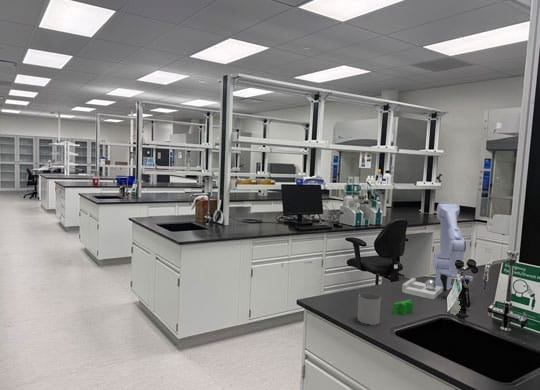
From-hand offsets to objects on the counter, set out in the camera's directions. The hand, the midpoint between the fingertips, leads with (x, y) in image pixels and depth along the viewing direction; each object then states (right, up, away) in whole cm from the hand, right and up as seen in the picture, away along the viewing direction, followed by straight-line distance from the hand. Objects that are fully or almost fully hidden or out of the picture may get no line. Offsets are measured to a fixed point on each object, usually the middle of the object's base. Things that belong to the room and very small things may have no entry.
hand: (453, 292), depth 179 cm
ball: (-8, +2, +6) cm, 11 cm away
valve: (-6, -5, -16) cm, 18 cm away
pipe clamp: (-30, -4, -19) cm, 36 cm away
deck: (-11, -2, +10) cm, 15 cm away
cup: (-48, -4, -30) cm, 57 cm away
